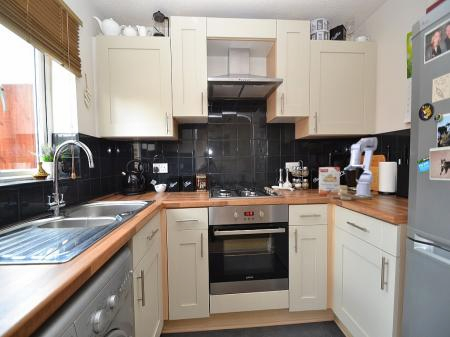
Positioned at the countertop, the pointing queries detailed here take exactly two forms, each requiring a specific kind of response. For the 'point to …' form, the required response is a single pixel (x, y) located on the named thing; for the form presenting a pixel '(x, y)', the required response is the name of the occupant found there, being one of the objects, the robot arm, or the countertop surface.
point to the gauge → (344, 193)
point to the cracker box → (329, 180)
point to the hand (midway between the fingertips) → (352, 179)
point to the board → (353, 197)
